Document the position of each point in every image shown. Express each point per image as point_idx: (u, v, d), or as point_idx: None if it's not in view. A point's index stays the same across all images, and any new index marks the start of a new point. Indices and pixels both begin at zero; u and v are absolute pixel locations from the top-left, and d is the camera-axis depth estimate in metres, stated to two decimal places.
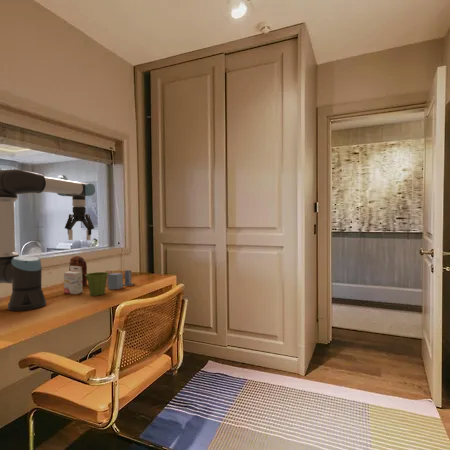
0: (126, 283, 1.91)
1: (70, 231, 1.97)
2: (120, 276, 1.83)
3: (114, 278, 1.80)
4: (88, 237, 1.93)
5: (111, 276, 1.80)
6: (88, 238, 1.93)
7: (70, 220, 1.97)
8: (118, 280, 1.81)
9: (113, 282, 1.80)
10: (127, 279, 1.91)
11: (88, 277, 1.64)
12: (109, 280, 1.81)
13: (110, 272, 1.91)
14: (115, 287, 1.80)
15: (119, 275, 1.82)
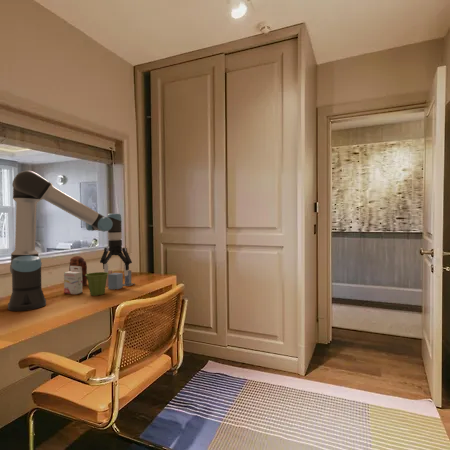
0: (126, 283, 1.91)
1: (106, 265, 1.84)
2: (120, 276, 1.83)
3: (114, 278, 1.80)
4: (126, 272, 1.81)
5: (111, 276, 1.80)
6: (126, 273, 1.81)
7: (105, 254, 1.84)
8: (118, 280, 1.81)
9: (113, 282, 1.80)
10: (127, 279, 1.91)
11: (88, 277, 1.64)
12: (109, 280, 1.81)
13: (110, 272, 1.91)
14: (115, 287, 1.80)
15: (119, 275, 1.82)
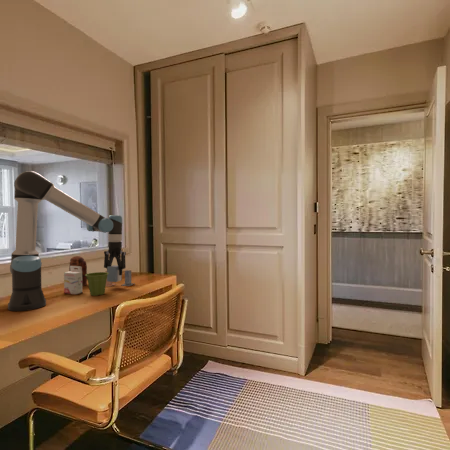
0: (126, 283, 1.91)
1: None
2: None
3: (113, 270, 1.79)
4: (119, 277, 1.81)
5: (110, 268, 1.80)
6: (119, 278, 1.81)
7: (107, 257, 1.84)
8: None
9: (112, 274, 1.80)
10: (127, 279, 1.91)
11: (88, 277, 1.64)
12: (108, 272, 1.80)
13: None
14: (114, 279, 1.79)
15: (118, 268, 1.82)
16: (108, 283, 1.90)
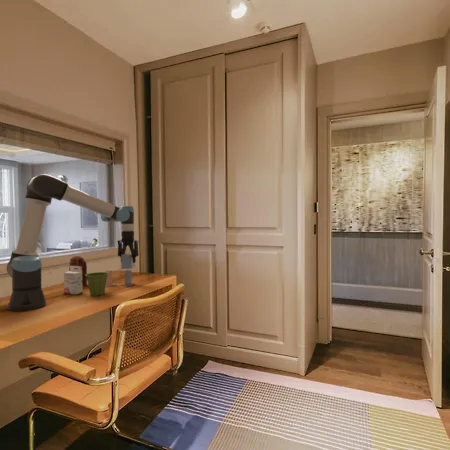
0: (126, 283, 1.91)
1: None
2: None
3: (127, 258, 1.89)
4: (132, 265, 1.91)
5: (124, 256, 1.89)
6: (133, 266, 1.91)
7: (120, 246, 1.93)
8: None
9: (126, 262, 1.89)
10: (127, 279, 1.91)
11: (88, 277, 1.64)
12: (122, 260, 1.90)
13: (110, 272, 1.91)
14: (128, 267, 1.89)
15: None
16: (108, 283, 1.90)
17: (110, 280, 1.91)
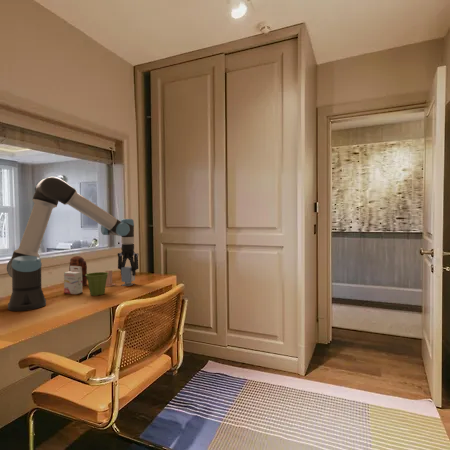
0: (126, 283, 1.91)
1: None
2: None
3: (127, 271, 1.89)
4: (132, 278, 1.91)
5: (124, 269, 1.90)
6: (132, 279, 1.91)
7: (120, 259, 1.93)
8: None
9: (126, 275, 1.89)
10: None
11: (88, 277, 1.64)
12: (122, 273, 1.90)
13: (110, 272, 1.91)
14: (128, 280, 1.89)
15: None
16: (108, 283, 1.90)
17: (110, 280, 1.91)
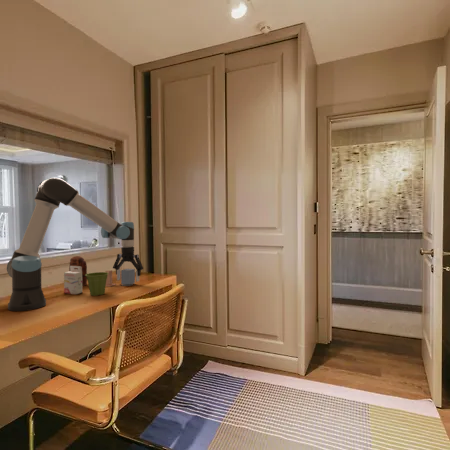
0: None
1: (118, 271, 1.93)
2: (132, 272, 1.92)
3: (127, 273, 1.89)
4: (137, 278, 1.90)
5: (124, 272, 1.90)
6: (137, 279, 1.90)
7: (118, 260, 1.94)
8: (131, 275, 1.90)
9: (126, 277, 1.89)
10: None
11: (88, 277, 1.64)
12: (122, 275, 1.90)
13: (110, 272, 1.91)
14: (128, 282, 1.89)
15: (132, 271, 1.91)
16: (108, 283, 1.90)
17: (110, 280, 1.91)
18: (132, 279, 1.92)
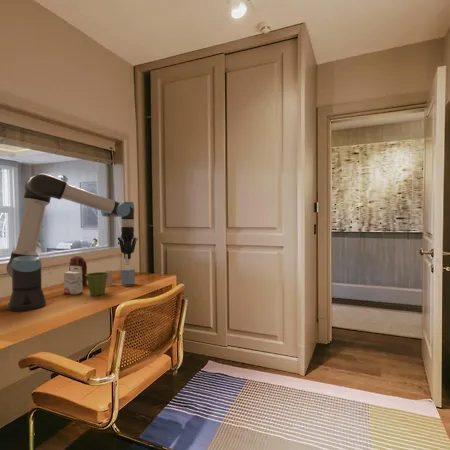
0: None
1: None
2: (132, 272, 1.92)
3: (127, 273, 1.89)
4: (128, 261, 1.91)
5: (124, 272, 1.90)
6: (128, 262, 1.91)
7: (122, 242, 1.92)
8: (131, 275, 1.90)
9: (126, 277, 1.89)
10: None
11: (88, 277, 1.64)
12: (122, 275, 1.90)
13: (110, 272, 1.91)
14: (128, 282, 1.89)
15: (132, 271, 1.91)
16: (108, 283, 1.90)
17: (110, 280, 1.91)
18: (132, 279, 1.92)
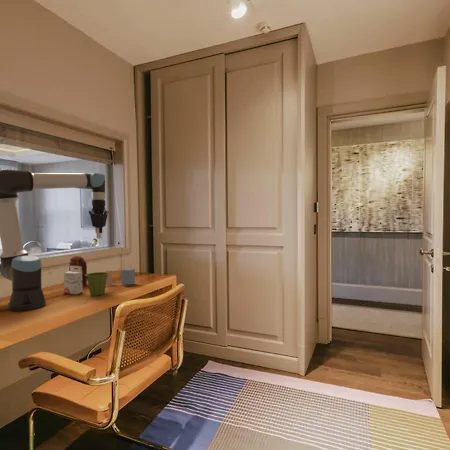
0: None
1: None
2: (132, 272, 1.92)
3: (127, 273, 1.89)
4: (99, 235, 1.86)
5: (124, 272, 1.90)
6: (99, 236, 1.86)
7: (93, 216, 1.87)
8: (131, 275, 1.90)
9: (126, 277, 1.89)
10: None
11: (88, 277, 1.64)
12: (122, 275, 1.90)
13: (110, 272, 1.91)
14: (128, 282, 1.89)
15: (132, 271, 1.91)
16: (108, 283, 1.90)
17: (110, 280, 1.91)
18: (132, 279, 1.92)
